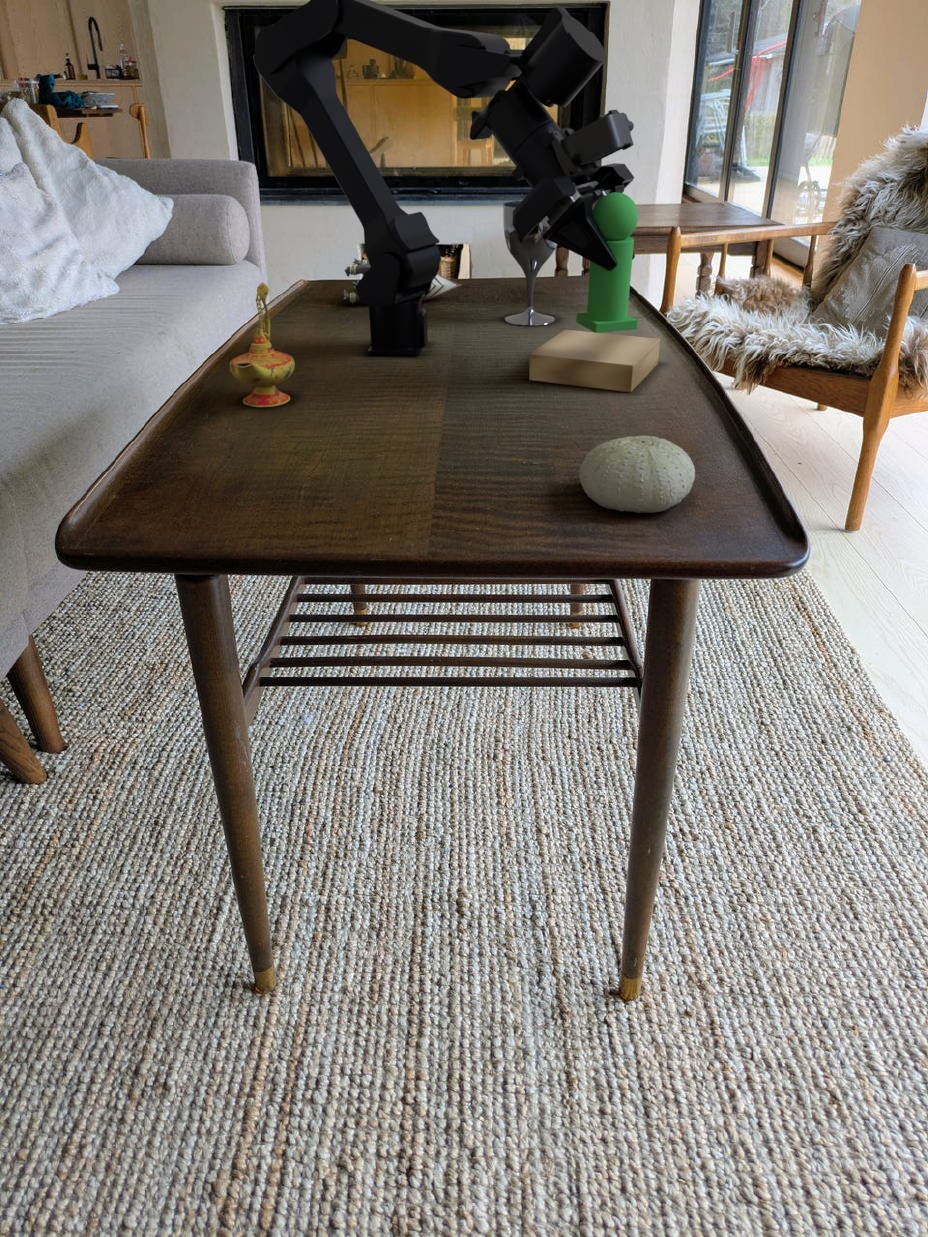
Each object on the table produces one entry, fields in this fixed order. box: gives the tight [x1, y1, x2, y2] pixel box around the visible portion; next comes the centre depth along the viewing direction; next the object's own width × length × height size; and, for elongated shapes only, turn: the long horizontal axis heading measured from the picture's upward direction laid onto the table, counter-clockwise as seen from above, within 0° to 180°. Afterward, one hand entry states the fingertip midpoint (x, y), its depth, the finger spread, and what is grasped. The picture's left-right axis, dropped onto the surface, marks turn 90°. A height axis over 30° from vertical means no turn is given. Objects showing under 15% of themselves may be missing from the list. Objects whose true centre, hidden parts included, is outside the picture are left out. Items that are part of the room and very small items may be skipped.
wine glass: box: [502, 200, 558, 327], centre depth 124 cm, size 8×8×15 cm
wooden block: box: [528, 329, 661, 393], centre depth 105 cm, size 12×12×3 cm
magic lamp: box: [229, 282, 296, 408], centre depth 94 cm, size 7×18×11 cm, turn 2°
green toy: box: [575, 192, 639, 333], centre depth 96 cm, size 5×5×13 cm
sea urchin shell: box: [578, 435, 696, 514], centre depth 74 cm, size 9×8×8 cm
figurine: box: [343, 258, 462, 304], centre depth 138 cm, size 20×6×17 cm
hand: (622, 263), depth 96 cm, fingers closed on green toy, 4 cm apart
